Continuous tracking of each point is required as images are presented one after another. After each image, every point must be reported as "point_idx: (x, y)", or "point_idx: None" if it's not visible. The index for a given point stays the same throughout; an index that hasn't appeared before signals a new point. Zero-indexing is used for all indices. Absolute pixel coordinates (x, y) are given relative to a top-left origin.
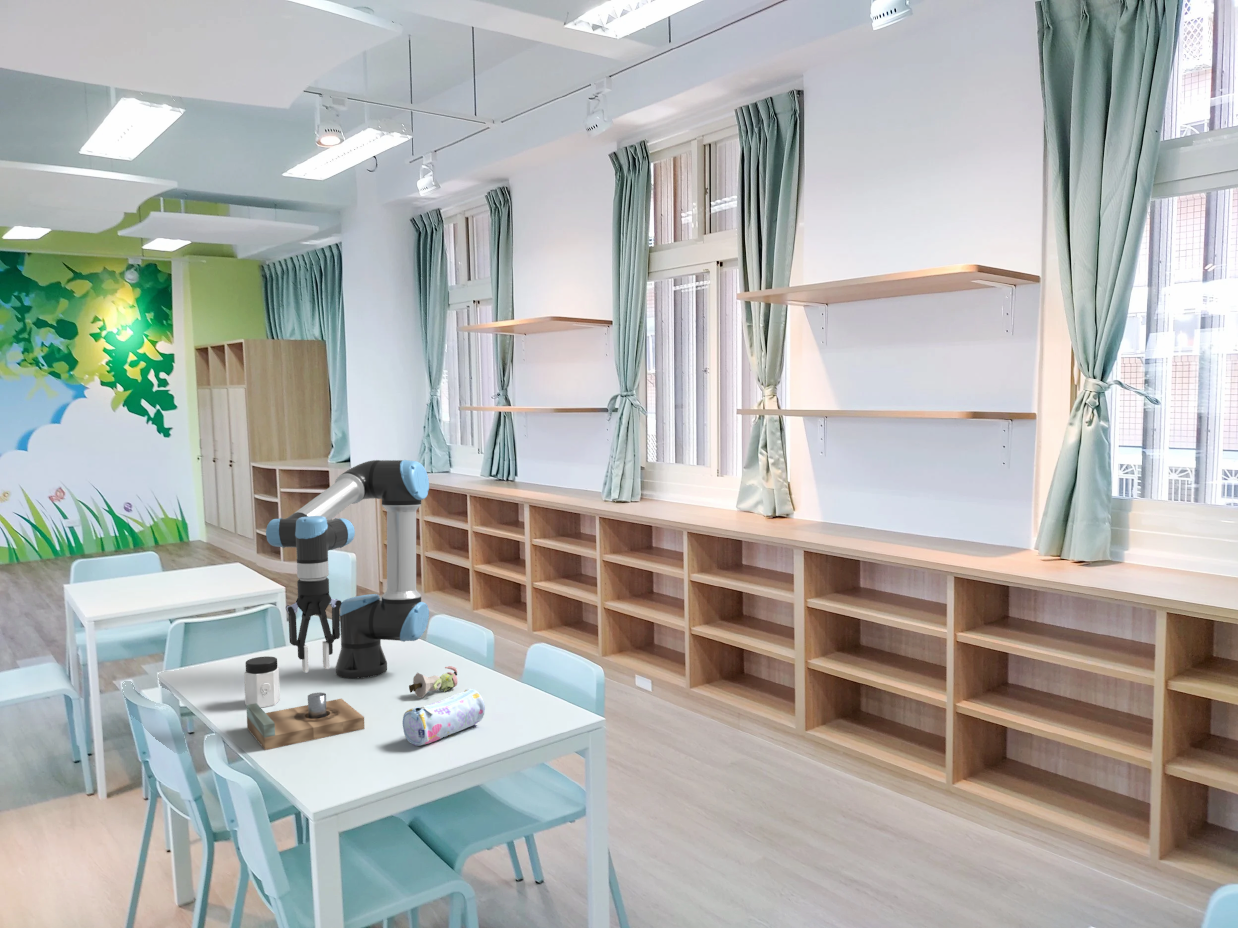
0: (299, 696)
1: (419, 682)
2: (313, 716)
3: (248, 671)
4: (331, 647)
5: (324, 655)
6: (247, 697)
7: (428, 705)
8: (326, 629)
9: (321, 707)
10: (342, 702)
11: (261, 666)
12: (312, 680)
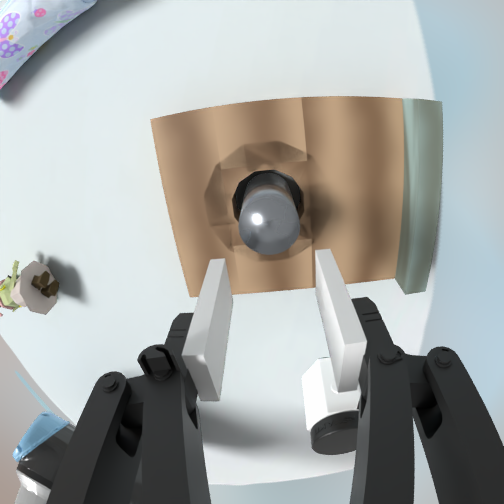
0: (265, 379)
1: (35, 291)
2: (283, 185)
3: None
4: (172, 341)
5: (222, 321)
6: None
7: (14, 5)
8: (172, 454)
9: (260, 188)
10: (190, 268)
11: (355, 423)
12: (230, 422)
